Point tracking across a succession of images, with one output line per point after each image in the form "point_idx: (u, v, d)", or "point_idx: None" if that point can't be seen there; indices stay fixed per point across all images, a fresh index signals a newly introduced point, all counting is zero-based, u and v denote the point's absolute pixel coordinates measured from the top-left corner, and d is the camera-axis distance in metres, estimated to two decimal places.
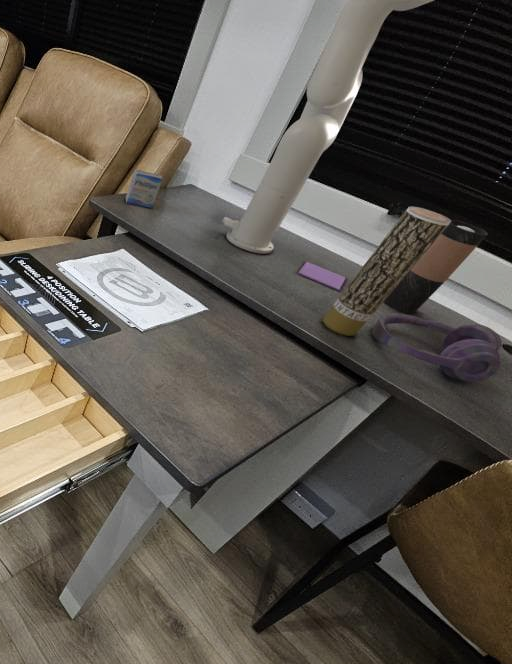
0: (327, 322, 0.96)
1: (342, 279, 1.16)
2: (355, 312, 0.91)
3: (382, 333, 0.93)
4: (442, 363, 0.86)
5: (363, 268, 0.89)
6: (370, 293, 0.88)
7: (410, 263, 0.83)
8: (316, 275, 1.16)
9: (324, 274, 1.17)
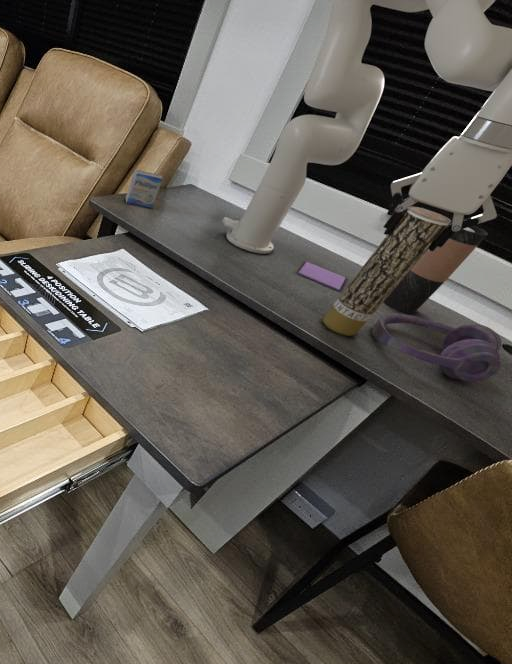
0: (327, 322, 0.96)
1: (342, 279, 1.16)
2: (355, 312, 0.91)
3: (382, 333, 0.93)
4: (442, 363, 0.86)
5: (363, 268, 0.89)
6: (370, 293, 0.88)
7: (410, 263, 0.83)
8: (316, 275, 1.16)
9: (324, 274, 1.17)
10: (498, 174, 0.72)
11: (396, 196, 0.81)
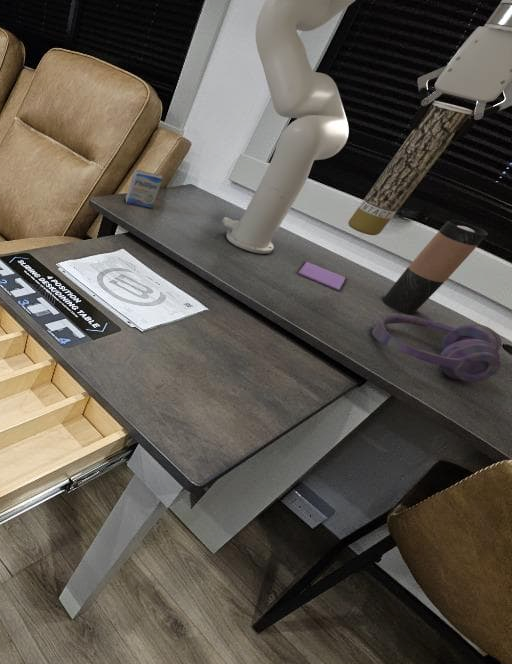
0: (352, 223, 1.02)
1: (342, 279, 1.16)
2: (380, 209, 0.97)
3: (382, 333, 0.93)
4: (442, 363, 0.86)
5: (389, 165, 0.95)
6: (395, 188, 0.94)
7: (434, 155, 0.89)
8: (316, 275, 1.16)
9: (324, 274, 1.17)
10: None
11: (422, 90, 0.88)
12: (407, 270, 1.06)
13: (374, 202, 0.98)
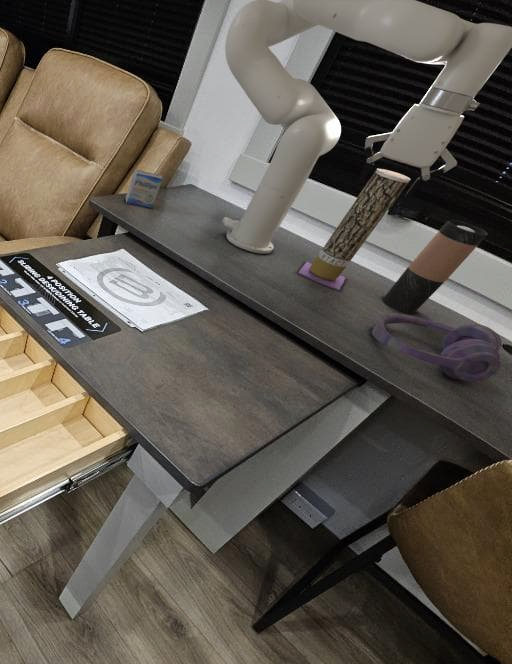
0: (313, 269, 1.15)
1: (342, 279, 1.16)
2: (335, 259, 1.10)
3: (382, 333, 0.93)
4: (442, 363, 0.86)
5: (342, 221, 1.08)
6: (347, 242, 1.07)
7: (379, 215, 1.03)
8: None
9: None
10: (449, 133, 0.90)
11: (367, 149, 1.00)
12: (407, 270, 1.06)
13: (330, 253, 1.11)
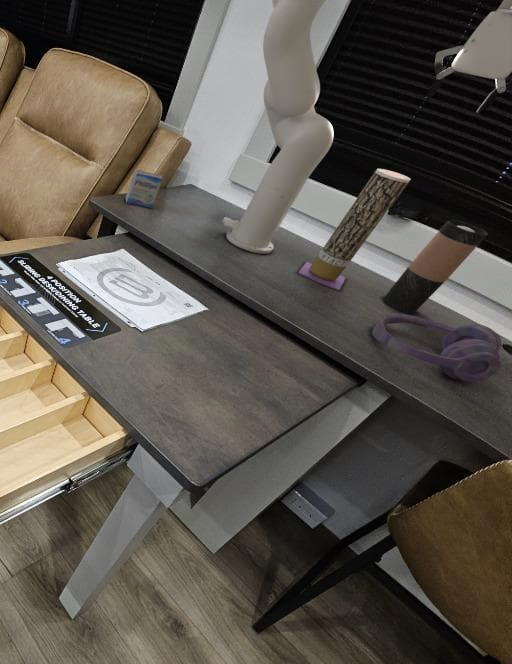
0: (313, 269, 1.15)
1: (342, 279, 1.16)
2: (335, 259, 1.10)
3: (382, 333, 0.93)
4: (442, 363, 0.86)
5: (342, 221, 1.08)
6: (347, 242, 1.07)
7: (379, 215, 1.03)
8: None
9: None
10: None
11: (437, 65, 0.97)
12: (407, 270, 1.06)
13: (330, 253, 1.11)
